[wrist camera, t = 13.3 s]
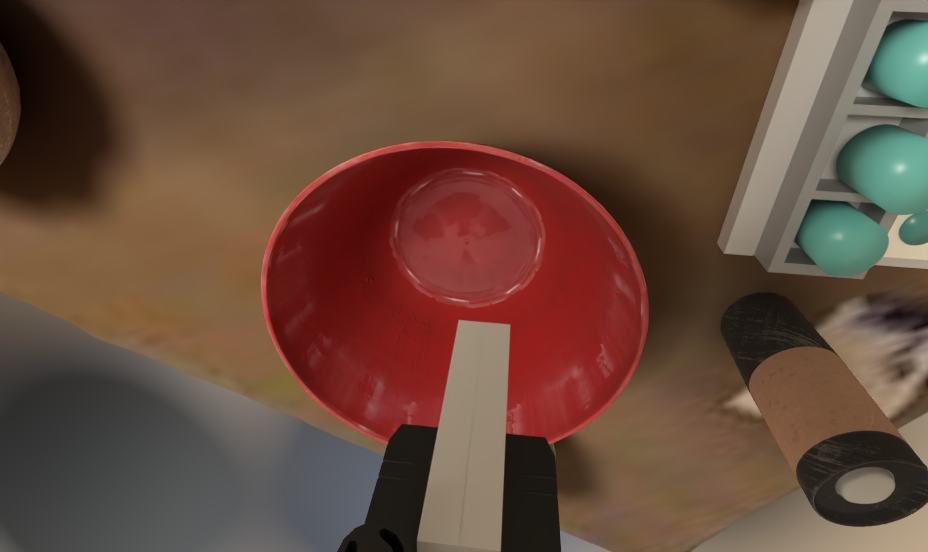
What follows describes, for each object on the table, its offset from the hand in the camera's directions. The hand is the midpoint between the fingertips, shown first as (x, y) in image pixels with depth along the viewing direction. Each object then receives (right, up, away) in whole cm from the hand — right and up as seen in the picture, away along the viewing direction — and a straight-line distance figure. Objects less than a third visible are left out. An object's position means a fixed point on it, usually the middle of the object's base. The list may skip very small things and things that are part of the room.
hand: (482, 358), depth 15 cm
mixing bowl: (0, +6, +35) cm, 35 cm away
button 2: (+30, +11, +22) cm, 38 cm away
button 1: (+30, +18, +20) cm, 41 cm away
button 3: (+30, +7, +27) cm, 41 cm away
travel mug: (+30, -2, +36) cm, 47 cm away
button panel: (+33, +14, +26) cm, 44 cm away
